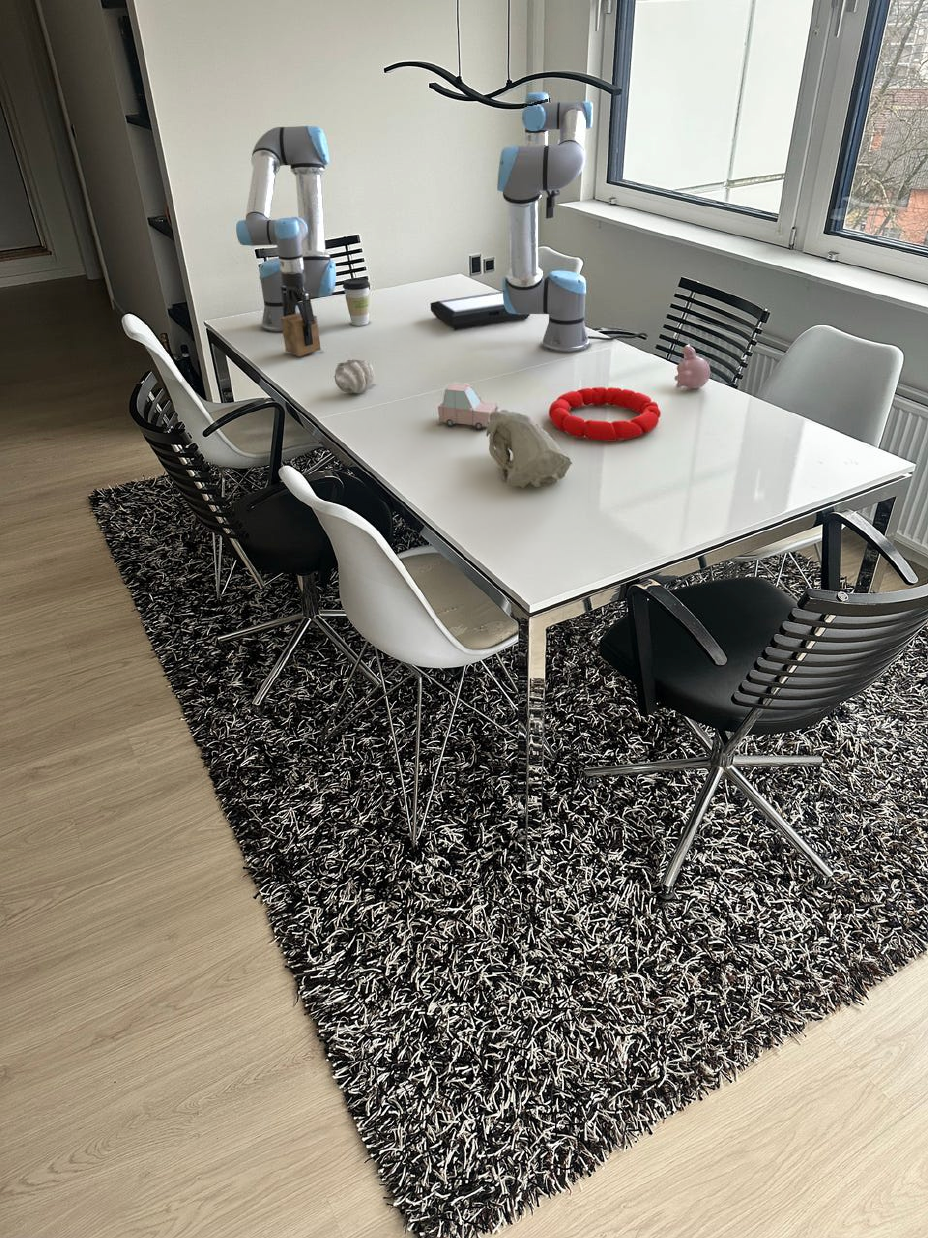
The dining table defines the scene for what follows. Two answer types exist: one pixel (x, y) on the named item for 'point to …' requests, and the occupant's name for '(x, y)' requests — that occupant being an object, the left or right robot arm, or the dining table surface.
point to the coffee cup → (357, 300)
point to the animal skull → (525, 450)
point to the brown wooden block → (299, 335)
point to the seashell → (354, 376)
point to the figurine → (692, 370)
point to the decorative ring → (604, 428)
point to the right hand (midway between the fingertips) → (535, 215)
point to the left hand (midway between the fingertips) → (302, 341)
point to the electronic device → (474, 311)
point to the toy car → (465, 406)
